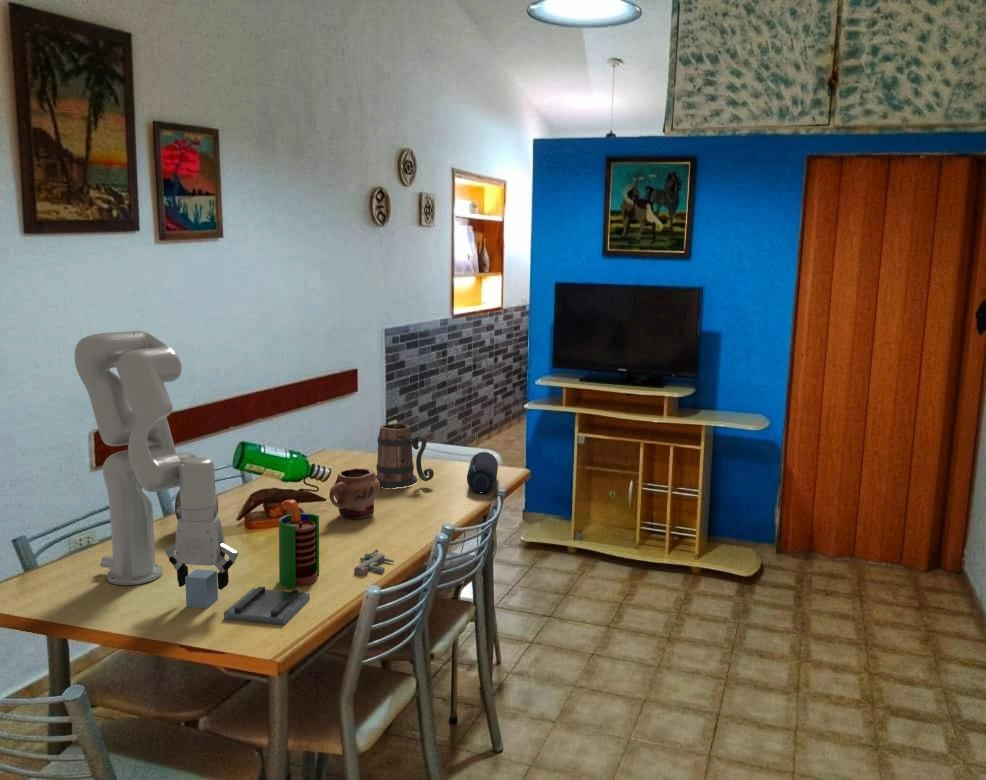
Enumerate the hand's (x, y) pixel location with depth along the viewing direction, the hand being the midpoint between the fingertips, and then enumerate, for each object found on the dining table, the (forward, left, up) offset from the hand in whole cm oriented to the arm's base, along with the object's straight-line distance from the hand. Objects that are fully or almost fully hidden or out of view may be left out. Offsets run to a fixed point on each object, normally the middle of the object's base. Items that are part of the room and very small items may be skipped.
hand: (203, 586), depth 193 cm
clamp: (+30, +31, -5) cm, 44 cm away
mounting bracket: (+15, 0, -4) cm, 16 cm away
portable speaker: (+43, +111, -5) cm, 119 cm away
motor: (+15, +17, -4) cm, 24 cm away
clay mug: (+11, +68, -4) cm, 69 cm away
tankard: (+15, +107, -4) cm, 108 cm away
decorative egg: (-28, +46, -4) cm, 54 cm away
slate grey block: (-1, 0, -4) cm, 4 cm away
